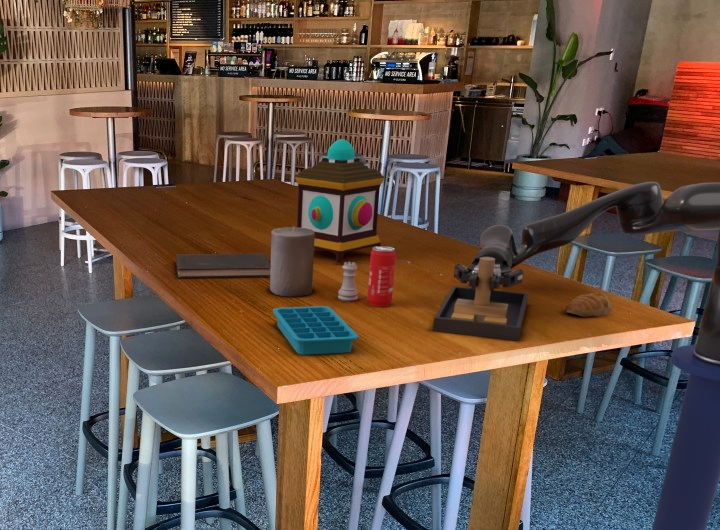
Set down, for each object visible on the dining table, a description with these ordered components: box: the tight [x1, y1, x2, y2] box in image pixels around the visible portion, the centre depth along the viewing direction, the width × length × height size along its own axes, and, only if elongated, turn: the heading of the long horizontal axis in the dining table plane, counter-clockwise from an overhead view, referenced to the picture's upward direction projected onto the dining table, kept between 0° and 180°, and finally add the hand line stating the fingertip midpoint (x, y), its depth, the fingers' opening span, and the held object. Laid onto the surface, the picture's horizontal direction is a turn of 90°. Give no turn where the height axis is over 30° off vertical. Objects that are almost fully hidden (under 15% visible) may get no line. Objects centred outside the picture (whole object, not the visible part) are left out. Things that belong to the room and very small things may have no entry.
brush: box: [454, 257, 508, 322], centre depth 153 cm, size 4×10×13 cm, turn 66°
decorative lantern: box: [294, 138, 385, 265], centre depth 209 cm, size 20×20×30 cm
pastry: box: [565, 292, 613, 318], centre depth 163 cm, size 9×7×4 cm
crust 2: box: [484, 316, 507, 325], centre depth 152 cm, size 3×4×2 cm
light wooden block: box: [451, 313, 475, 321], centre depth 154 cm, size 3×4×2 cm
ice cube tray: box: [272, 305, 359, 356], centre depth 149 cm, size 12×20×3 cm, turn 8°
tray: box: [432, 285, 529, 342], centre depth 161 cm, size 26×16×3 cm, turn 156°
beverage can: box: [366, 245, 397, 308], centre depth 168 cm, size 5×5×12 cm
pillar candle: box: [269, 225, 315, 297], centre depth 177 cm, size 10×10×15 cm
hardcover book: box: [175, 252, 271, 279], centre depth 198 cm, size 16×23×2 cm
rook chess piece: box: [337, 261, 359, 302], centre depth 172 cm, size 4×4×8 cm
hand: (482, 284), depth 150 cm, fingers closed on brush, 2 cm apart
